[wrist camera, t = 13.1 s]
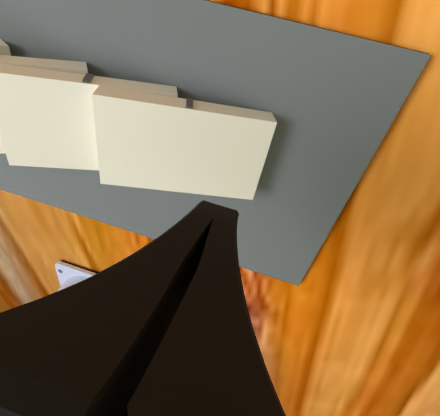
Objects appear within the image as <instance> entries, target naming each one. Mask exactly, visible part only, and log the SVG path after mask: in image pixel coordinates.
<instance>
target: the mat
mask: <svg viewBox="0 0 440 416" xmlns="http://www.w3.org/2000/svg"><path fill="white" fill-rule="evenodd" d="M0 39H1V40H2V41H4V42H5V43H6V44H7V45H8V46H9V49H10V53H11V56H19V57H31V58H43V59H56V60H68V61H80V62H86V64H87V69H88V73H89V74H94V76H100V77H108V78H116V79H123V80H131V81H138V82H146V83H154V84H161V85H169V86H176V87H177V94H178V98H184V99H187V98H193V100H196V101H203V102H209V103H215V104H222V105H228V106H234V107H241V108H247V109H253V110H260V111H266V112H272V114H273V116H274V117H275V119H276V121H277V125H276V128H275V131H274V134H273V137H272V140H271V144H270V147H269V150H268V153H267V156H266V159H265V163H264V166H263V169H262V172H261V175H260V178H259V182H258V185H257V188H256V191H255V194H254V198H253V200H248V199H239V198H229V197H220V196H211V195H201V194H192V193H183V192H173V191H164V190H155V189H145V188H136V187H126V186H117V185H108V184H100V174H99V171H98V170H81V169H64V168H48V167H31V166H14V165H9V162H8V159H7V156H6V153H5V154H0V189H1V190H4V191H7V192H10V193H13V194H17V195H20V196H23V197H26V198H29V199H32V200H35V201H38V202H41V203H44V204H47V205H51V206H54V207H57V208H60V209H63V210H66V211H69V212H72V213H75V214H78V215H81V216H85V217H88V218H91V219H94V220H97V221H100V222H103V223H106V224H109V225H112V226H116V227H119V228H122V229H125V230H128V231H131V232H134V233H137V234H140V235H143V236H146V237H150V238H153V239H156V238H157V237H159V236H160V235H162V234H163V233H164V232H166V231H167V230H168V229H169V228H171V227H172V226H173V225H175V224H176V223H177V222H178V221H180V220H181V219H182V218H183V217H184V216H185V215H187V214H188V213H189V212H190V211H191V210H192V209H193V208H194V207H195V206H196V205H197V204H198V203H199V202H201V201H203V200H204V201H208V202H211V203H214V204H217V205H221V206H224V207H227V208H231V209H234V210H237V211H238V213H239V217H238V222H237V248H238V260H239V267H242V268H245V269H249V270H252V271H255V272H258V273H261V274H264V275H267V276H270V277H273V278H276V279H279V280H283V281H286V282H289V283H292V284H295V285H298V286H299V284H300V283H301V281H302V279H303V277H304V276H305V274H306V272H307V270H308V269H309V267H310V265H311V263H312V262H313V260H314V258H315V256H316V255H317V253H318V251H319V250H320V248H321V246H322V244H323V243H324V241H325V239H326V237H327V236H328V234H329V232H330V230H331V229H332V227H333V225H334V223H335V222H336V220H337V218H338V216H339V215H340V213H341V211H342V209H343V208H344V206H345V204H346V203H347V201H348V199H349V197H350V196H351V194H352V192H353V190H354V189H355V187H356V185H357V183H358V182H359V180H360V178H361V176H362V175H363V173H364V171H365V169H366V168H367V166H368V164H369V162H370V161H371V159H372V157H373V155H374V154H375V152H376V150H377V149H378V147H379V145H380V143H381V142H382V140H383V138H384V136H385V135H386V133H387V131H388V129H389V128H390V126H391V124H392V122H393V121H394V119H395V117H396V115H397V114H398V112H399V110H400V108H401V107H402V105H403V103H404V102H405V100H406V98H407V96H408V95H409V93H410V91H411V89H412V88H413V86H414V84H415V82H416V81H417V79H418V77H419V75H420V74H421V72H422V70H423V68H424V67H425V65H426V63H427V61H428V60H429V58H430V56H431V55H430V54H428V53H424V52H420V51H415V50H411V49H407V48H403V47H399V46H395V45H390V44H386V43H382V42H378V41H374V40H370V39H366V38H361V37H357V36H353V35H349V34H345V33H341V32H337V31H332V30H328V29H324V28H320V27H316V26H312V25H308V24H303V23H299V22H295V21H291V20H287V19H283V18H279V17H274V16H270V15H266V14H262V13H258V12H254V11H250V10H245V9H241V8H237V7H233V6H229V5H225V4H221V3H216V2H212V1H208V0H0Z"/></svg>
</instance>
